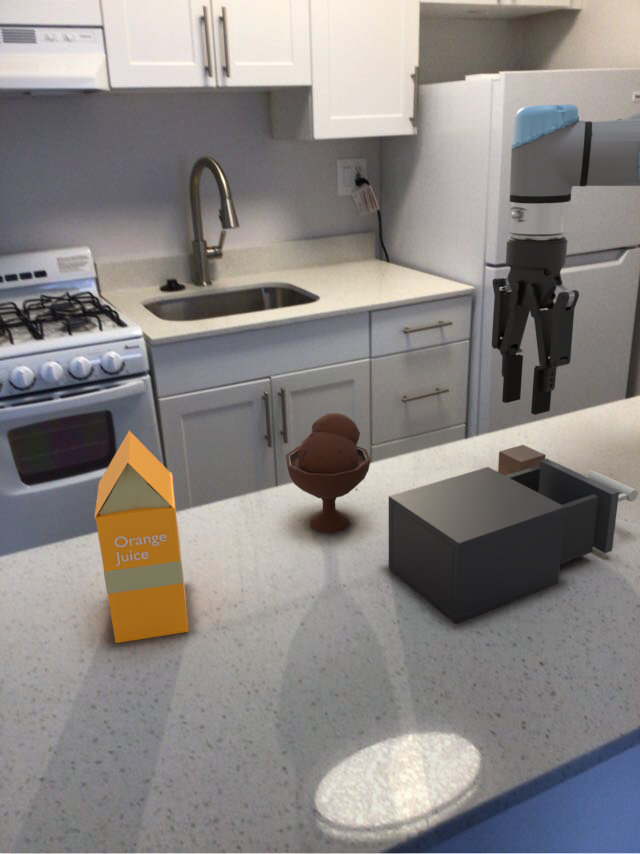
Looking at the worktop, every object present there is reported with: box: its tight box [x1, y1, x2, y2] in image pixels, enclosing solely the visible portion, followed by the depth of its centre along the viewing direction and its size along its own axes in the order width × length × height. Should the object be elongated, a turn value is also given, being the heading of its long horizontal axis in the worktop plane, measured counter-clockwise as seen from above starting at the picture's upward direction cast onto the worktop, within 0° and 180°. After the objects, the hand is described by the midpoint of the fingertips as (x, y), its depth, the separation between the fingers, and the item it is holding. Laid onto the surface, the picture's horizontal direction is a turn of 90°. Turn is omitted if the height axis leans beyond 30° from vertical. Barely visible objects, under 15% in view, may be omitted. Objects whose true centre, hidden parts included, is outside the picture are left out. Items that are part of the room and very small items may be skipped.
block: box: [497, 444, 546, 476], centre depth 109 cm, size 5×5×5 cm
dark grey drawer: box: [506, 458, 639, 565], centre depth 91 cm, size 20×11×8 cm, turn 119°
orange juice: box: [93, 429, 190, 644], centre depth 79 cm, size 8×9×20 cm
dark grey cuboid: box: [388, 466, 565, 624], centre depth 86 cm, size 15×13×10 cm
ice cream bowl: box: [284, 412, 372, 534], centre depth 98 cm, size 11×11×15 cm
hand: (525, 405), depth 105 cm, fingers open, 5 cm apart
